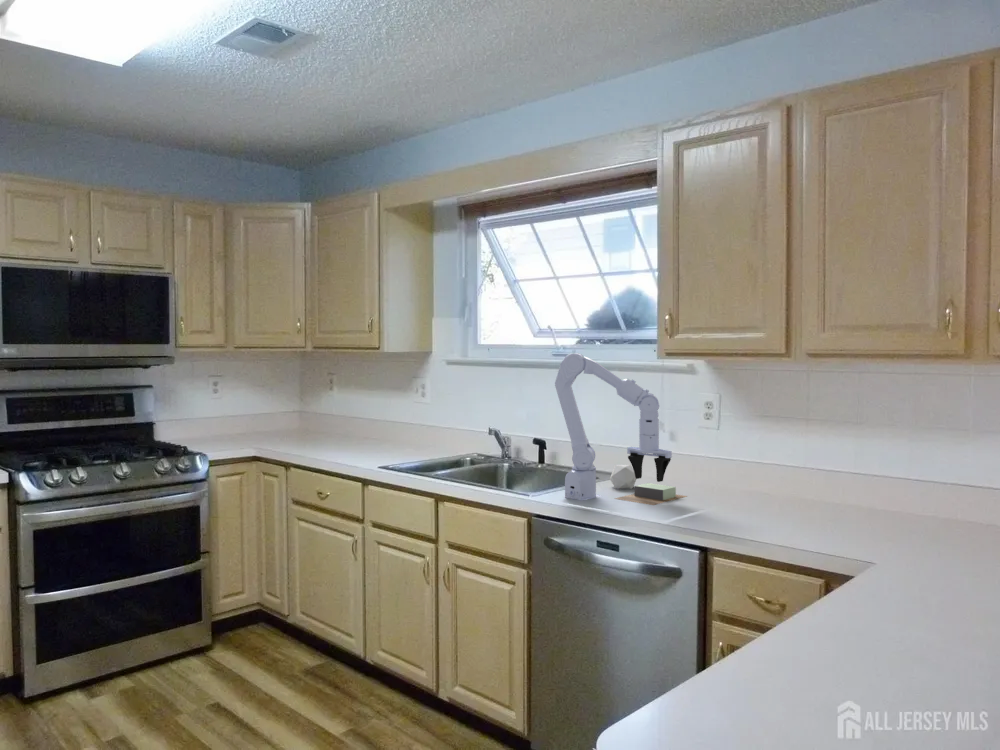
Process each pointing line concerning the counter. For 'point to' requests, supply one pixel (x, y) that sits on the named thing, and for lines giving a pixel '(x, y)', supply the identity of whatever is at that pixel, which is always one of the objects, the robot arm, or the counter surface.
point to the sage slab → (655, 491)
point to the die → (623, 477)
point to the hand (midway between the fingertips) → (649, 479)
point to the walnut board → (647, 499)
